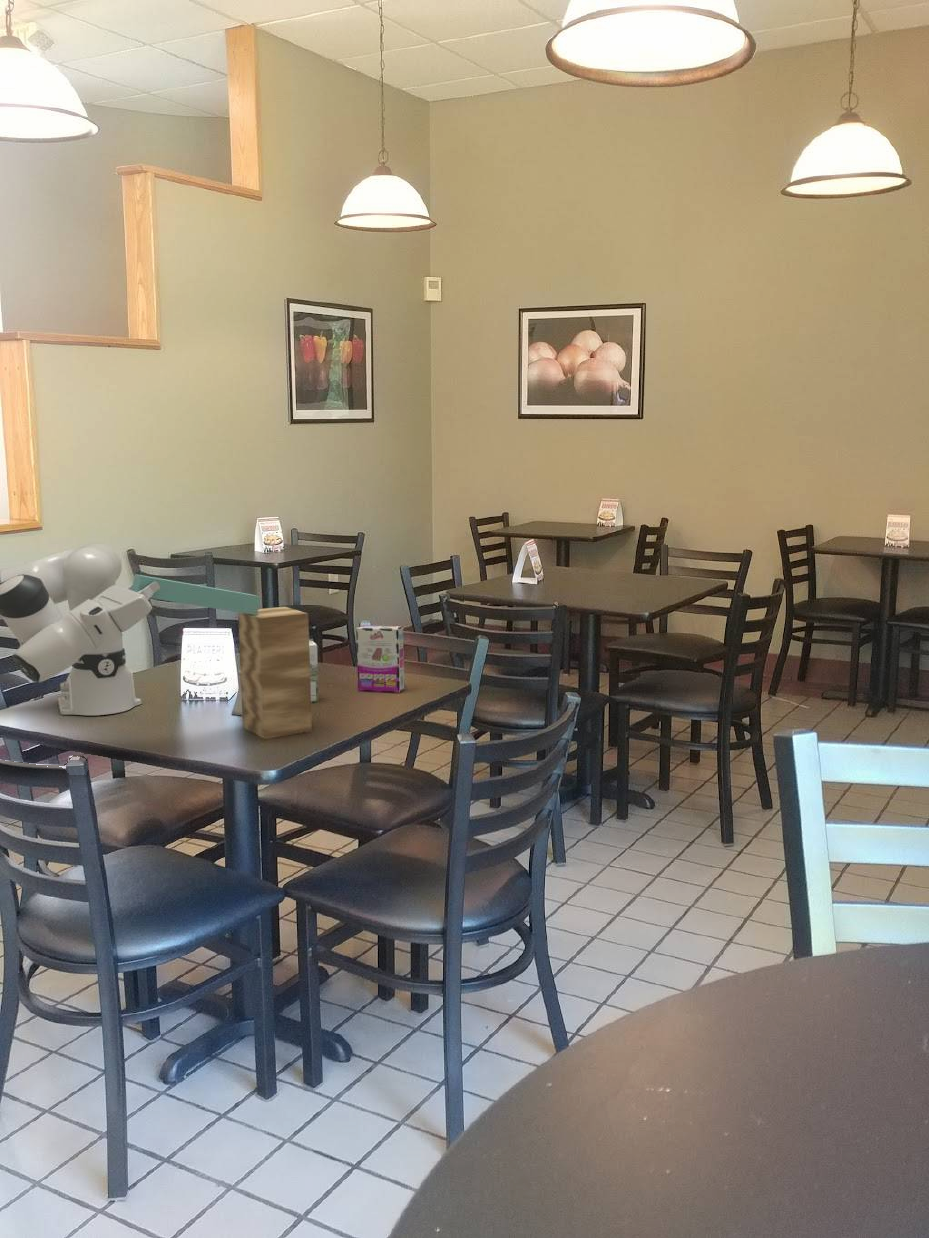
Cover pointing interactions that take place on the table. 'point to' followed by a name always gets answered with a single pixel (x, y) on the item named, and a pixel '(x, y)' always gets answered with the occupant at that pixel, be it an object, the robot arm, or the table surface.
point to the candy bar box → (380, 659)
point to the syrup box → (313, 671)
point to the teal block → (199, 595)
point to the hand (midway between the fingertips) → (153, 582)
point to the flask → (238, 701)
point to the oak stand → (275, 672)
